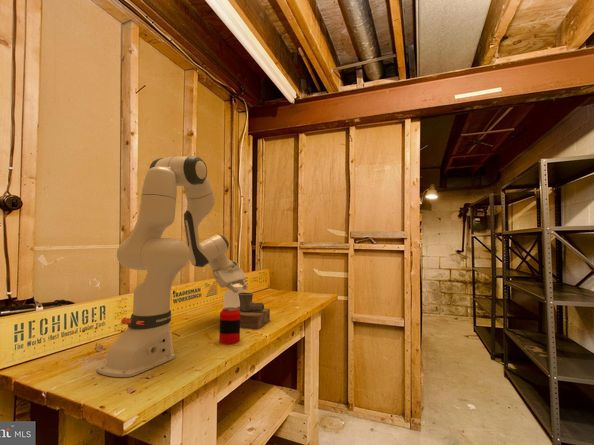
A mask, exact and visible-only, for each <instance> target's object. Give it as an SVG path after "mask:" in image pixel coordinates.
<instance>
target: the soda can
mask: <svg viewBox="0 0 594 445" xmlns="http://www.w3.org/2000/svg"><path fill="white" fill-rule="evenodd" d="M218 340H219V341H218V342H219V343H220V344H222V345H235V344H238V342H240V341H241V328H240V311H239V310H238V308H235V307H223V309H222V310H221V311H220V312H219V339H218Z"/></svg>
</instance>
